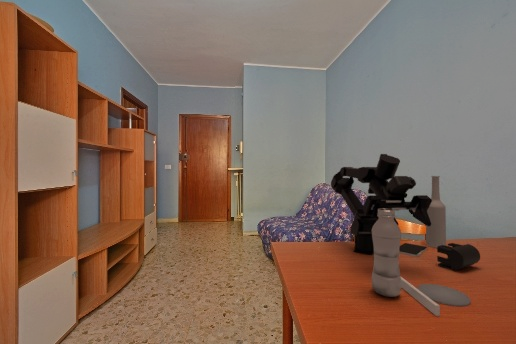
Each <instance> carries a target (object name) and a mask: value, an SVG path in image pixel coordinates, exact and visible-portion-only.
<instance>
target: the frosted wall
mask: <svg viewBox="0 0 516 344" xmlns="http://www.w3.org/2000/svg"><path fill="white" fill-rule="evenodd" d="M400 277H401V283H402V288H401V289H403V290H404V291H405V292H406V293H408V295H410V296H411V297H412V298H413V299H415V300H416V301H417V302H419V303H420V304H421V305H422V306H423V307H424V308H426V310H428V311H430V313H432V314H433V315H434V316H436V317H438V316H439V317H441V316H440V315H441V313H440V312H441V311H440V310H441V309H440V308H441V307H440V306H441V305H439V304H438V302H435V301H433V300H431V299H430V298H429V297H427V296H426V295H425V294H423V293H422V292H421V291H419V290H418V289H417V287H415V286H414V285H413V284H412V283H410V282H409V281H408V280H406V279H405V278H403V277H402V276H401V275H400Z"/></svg>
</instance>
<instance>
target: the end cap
mask: <svg viewBox="0 0 516 344" xmlns="http://www.w3.org/2000/svg"><path fill="white" fill-rule="evenodd" d="M436 249H437V250H436V252H437V253H440V254H444V255H446V256H447V257H443V256H440V255H437V257H436V258H437V259H436V260H437V261H436V262H438V264H437V266H438V267H441V268H444V269H447V270H450V271H457V270H461V269H464V268H468V267H470V266H473V265H474V264H477V263H479V262H480V260H481V254H480V253H481V252H480V251H479V250H478V248H477V247H476V246H474V245H472V244H469V243H467V244H458V243H453V242H450V243H448V244H447V245H446V246H445V245H441V246H438V247H437V248H436Z"/></svg>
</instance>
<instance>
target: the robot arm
mask: <svg viewBox="0 0 516 344" xmlns="http://www.w3.org/2000/svg"><path fill="white" fill-rule="evenodd" d="M400 163H401V160H400V158H398V157H395V156H392V155H388V154H387V153H380V155H379V159H378V162H377V165H376V166H361V167H352V166H343V167H341V168H340V170H339V171H338V172H337V173H335V174H334V175H333V176H332V179H331V181H330V187H331V188H332V189H333V192H335V194H338V195H341V196H342V198H343V200H344V201H345V204H347V206H348V208H349V210H350V211H351V214H352V215H353V216H354V217H353V221H352V223H351V225H350V228H349V230H350V234H352V235H353V236H354V249H353V252H354V253H361V254H364V255H365V254H366V255H371V256H372V255H373V256H374V245H373V239H372V227H373V225H374V224H375V223H376V221H377V220H378V219H379V217H378V216H377V214H378V209H379V208H386V209H394V211H401V210H403V211H404V210H405V211H407V210H408V213H410V215H412V217H413V218H414V219H416V220H417V221H419V222H420V223H422V224H423V225H425V226H426V225H427V226H431V221H430V218H429V216H428V213H427V210H428V208H429V206H430V204H431V202H432V199H431V197H429V196H428V195H427V194H425V195H423V194H422V195H418V194H416V195H413V196H412V199H411V201H406V198H407V197H408V193H407V192H408V191H409V190H412V189H414V187H416V185H417V181H416V180H415V178H413V177H411V176H408V175H396V173H397V171H398V167H399V165H400ZM354 179H357V181H358V182H360V183H362V184H368V189H367V194H369V195H367V196H366V199H365V202H364V204H363V203H362V202H361V200H360V199H359V198H358V195H356V193H355V192H354V190H353V189H352V188H353V184H354V182H355V181H354ZM371 194H372V195H371ZM394 221H395V222H396V224H397V225H398V226H399V222H398V221H397V219H396V217H395V218H394Z"/></svg>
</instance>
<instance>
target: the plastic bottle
mask: <svg viewBox="0 0 516 344" xmlns="http://www.w3.org/2000/svg"><path fill="white" fill-rule="evenodd" d="M395 212H396V210H394V209H386V208H379V209H378V214H377V216H378V217H379V219H378V220H377V221H376V223H375V224H374V225H373V227H372V239H373V245H374V253H373V269H372V273H371V278H370V279H371V287H372V288H373V290H374V292H375V293H376V294H378V295H381V296H383V297H387V298H395V297H398V296H399V295H400V294H401V293H402V289H403V288H402V283H401V277H402V276H401V274H400V271H401V270H400V262H399V261H400V257H399V256H400V253H399V248H400V246H401V240H402V230H401V228H400V226H399V225H397V224H396V222H395V221H394V218H395V219H396V215H395ZM400 276H401V277H400Z"/></svg>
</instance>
